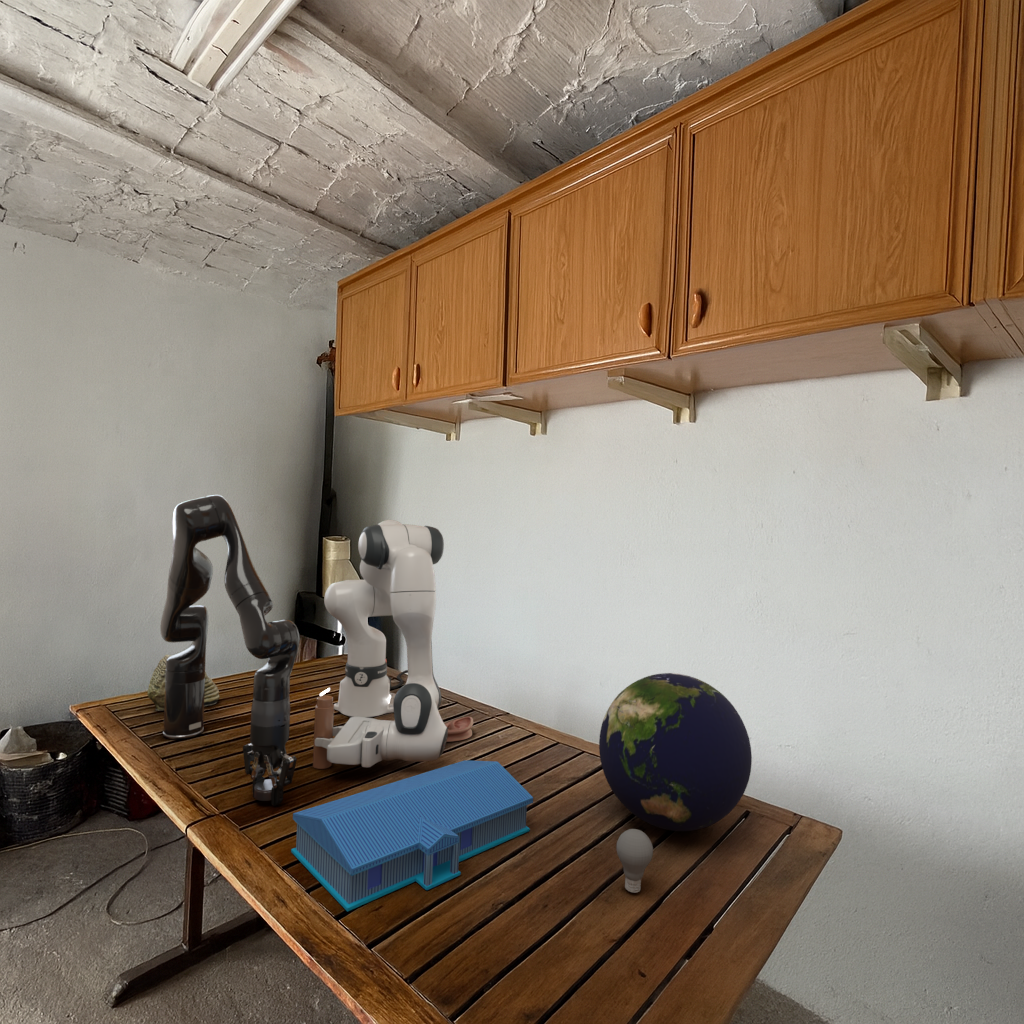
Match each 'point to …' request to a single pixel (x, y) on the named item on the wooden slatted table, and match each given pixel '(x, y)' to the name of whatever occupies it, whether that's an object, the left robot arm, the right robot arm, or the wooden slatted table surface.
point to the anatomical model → (459, 729)
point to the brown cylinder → (323, 729)
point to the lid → (263, 790)
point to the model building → (409, 830)
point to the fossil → (158, 687)
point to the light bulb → (634, 857)
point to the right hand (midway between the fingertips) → (319, 736)
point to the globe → (675, 752)
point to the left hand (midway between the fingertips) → (267, 799)
